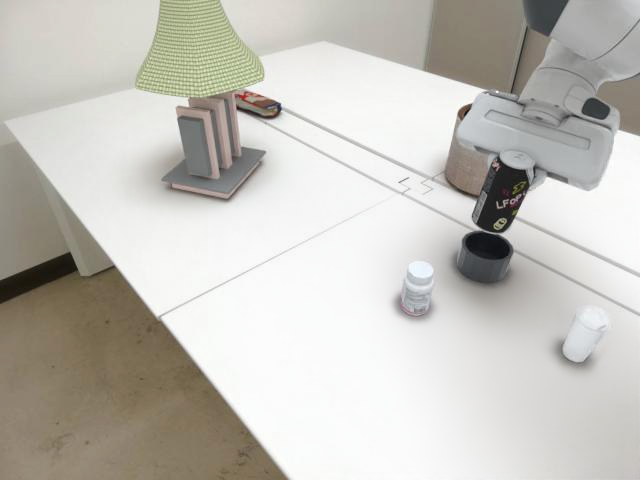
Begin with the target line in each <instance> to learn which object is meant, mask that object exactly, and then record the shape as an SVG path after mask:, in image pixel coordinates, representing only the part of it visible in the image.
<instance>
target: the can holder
mask: <svg viewBox="0 0 640 480" xmlns="http://www.w3.org/2000/svg"><path fill="white" fill-rule="evenodd" d="M514 253H515V252H514V245H512V243H511V242H510V241H509V240H508V239H507V238H506V237H505V236H503V235H502V234H491V233H487V232H484V231H482V230H481V229H479V230H474V231H473V230H472V231H470V232H467V233H466V234H464V236H463V237H462V239H461V241H460V246H459V250H458V253H457V257H456V266H457V268H458V270H459V272H460V273H461V274H462V275H464V276H465V277H466V278H468V279H470V280H472V281H475V282H478V283H482V284H493V283H497V282H500V281H501V280H503V279H504V278H505V276H506V275H507V272H508V270H509V267H510V263H511V262H512V260H513V259H512V258H513V256H514Z"/></svg>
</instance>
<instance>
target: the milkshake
mask: <svg viewBox="0 0 640 480" xmlns="http://www.w3.org/2000/svg"><path fill="white" fill-rule="evenodd" d="M612 327H613V321H612V318H611V316H610V314H609V313H608V312H607V311H606V310H605V309H603V308H601V307H599V306H596V305H590V304H589V305H583V306H580V307H578V308H577V309H576V311H575V315H574V318H573V320H572V323H571V326H570V329H569V330H568V334H567V336H566V338H565V340H564V343H563V345H562V349H561V350H562V354H563V355H564V357H565V358H566V359H567V360H569V361H571V362H574V363H583V362H584V361H585V360H586V359H587V358H588V357H589V355H590V353H592V351H593V350H594V349H595V347H596V346H597V344H598V343H599V342H600V341H601V340H602V339H603V337H604V336H605V335H606V334H607V333H608V332H609V330H610V329H611V328H612Z"/></svg>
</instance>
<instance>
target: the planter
mask: <svg viewBox="0 0 640 480" xmlns="http://www.w3.org/2000/svg"><path fill="white" fill-rule="evenodd" d="M472 104H473V102H471V103H468V104H465V105H463V106H461V107H460V108H459V109H458V111H457V113H456V117H455V123H454V127H453V133H452V137H451V141H450V146H449V149H448V155H447V160H446V163H445V170H444V171H445V177H446V179H447V180H448V181H449V182H450V183H451V184H452V186H454V187H455V188H457V189H459V190H460V191H462V192H464V193H467V194H470V195H472V196H477V197H479V195H480V192H481V189H482V187H483V183H484V180H485V178H486V176H487V173H488V157H489V156H487V155H485V154H482V153H479V152H476V151H474V150H471V149H468V148H465V147H463V146H461V145H460V143H459V141H458V139H457V136H456V131H457V128H458V127H459V125H460V124H461V122H462V120H463V119H464V118H465V116H466V115H467V113H468V112H469V111H470V109H471V107H472Z"/></svg>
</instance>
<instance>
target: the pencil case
mask: <svg viewBox="0 0 640 480" xmlns="http://www.w3.org/2000/svg"><path fill="white" fill-rule="evenodd" d="M234 93H235V102H236V108H237V107H238V108H240V109H244V110H247V111H250V112H252V113H254V114H258V115H260V116H262V117H275V116H277V115H278V114H279V113H280V112H282V110H283V108H282V103H281V102H278V101H277V100H275V99H272V98H270V97H267V96H265V95H263V94H258V93H256V92H252V91H249V90H244V89H238V90H234Z"/></svg>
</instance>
